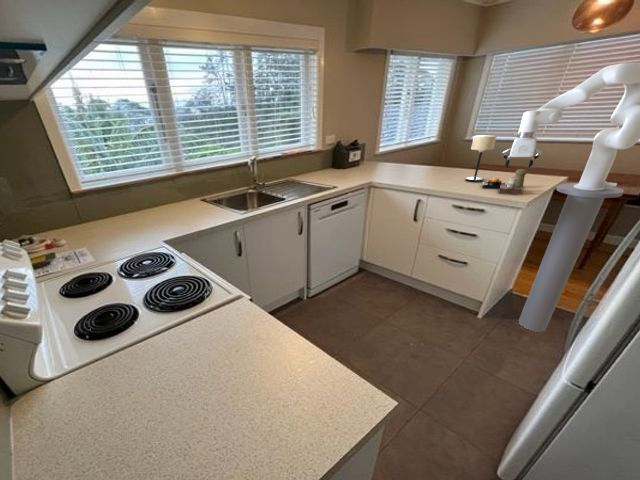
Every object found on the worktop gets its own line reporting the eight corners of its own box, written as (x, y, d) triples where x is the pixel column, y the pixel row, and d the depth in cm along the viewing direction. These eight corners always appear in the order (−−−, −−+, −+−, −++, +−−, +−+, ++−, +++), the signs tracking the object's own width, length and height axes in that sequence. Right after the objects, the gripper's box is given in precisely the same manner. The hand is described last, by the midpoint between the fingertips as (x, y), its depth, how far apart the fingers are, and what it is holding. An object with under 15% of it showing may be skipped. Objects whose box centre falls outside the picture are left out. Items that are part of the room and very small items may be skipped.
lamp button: (498, 181, 187) (499, 178, 186) (498, 182, 184) (499, 179, 183) (491, 180, 189) (492, 177, 188) (491, 181, 186) (492, 179, 185)
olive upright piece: (510, 188, 183) (515, 170, 178) (510, 186, 187) (515, 168, 182) (522, 189, 179) (528, 170, 175) (522, 186, 184) (528, 168, 179)
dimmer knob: (515, 188, 172) (518, 178, 170) (506, 187, 174) (509, 178, 172) (515, 186, 175) (518, 177, 172) (506, 186, 177) (509, 176, 175)
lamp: (485, 179, 206) (496, 134, 193) (484, 183, 198) (496, 136, 185) (464, 178, 213) (474, 135, 200) (463, 182, 204) (473, 137, 192)
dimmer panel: (520, 191, 176) (521, 185, 175) (520, 194, 170) (522, 189, 169) (499, 189, 182) (500, 184, 181) (498, 193, 176) (500, 188, 174)
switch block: (504, 186, 188) (506, 179, 186) (504, 189, 182) (506, 183, 180) (483, 185, 194) (484, 178, 192) (482, 188, 188) (483, 181, 186)
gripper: (506, 136, 165) (498, 168, 172) (548, 135, 155) (538, 168, 162) (506, 135, 170) (498, 165, 177) (547, 133, 160) (537, 166, 167)
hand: (517, 167), depth 170 cm, fingers open, 9 cm apart
